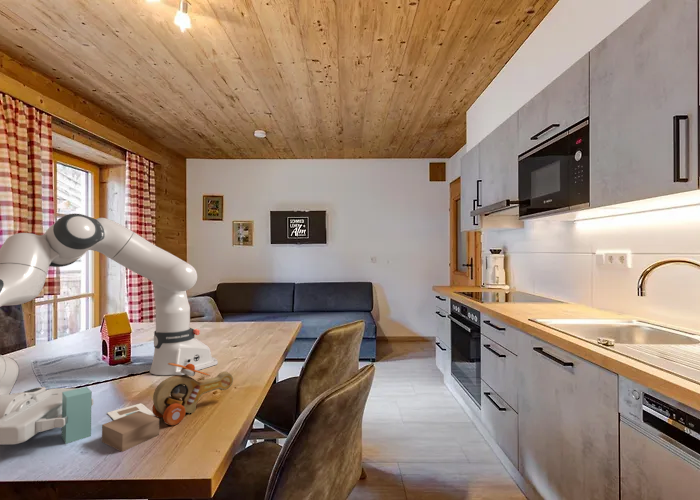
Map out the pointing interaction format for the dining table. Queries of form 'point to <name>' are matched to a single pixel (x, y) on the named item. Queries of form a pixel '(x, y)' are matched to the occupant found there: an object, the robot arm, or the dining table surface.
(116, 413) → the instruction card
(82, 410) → the teal tall block
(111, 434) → the walnut base block
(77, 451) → the dining table surface
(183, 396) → the toy helicopter
